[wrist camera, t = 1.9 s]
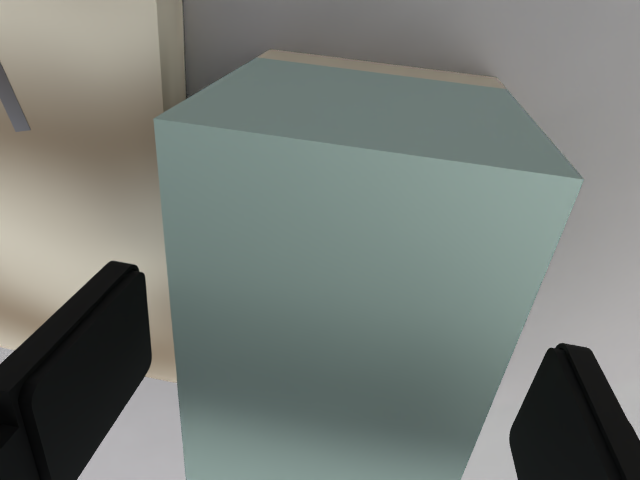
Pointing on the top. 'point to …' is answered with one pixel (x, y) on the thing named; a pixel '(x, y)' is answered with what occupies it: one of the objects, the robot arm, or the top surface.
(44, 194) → the board
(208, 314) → the block
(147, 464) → the top surface
